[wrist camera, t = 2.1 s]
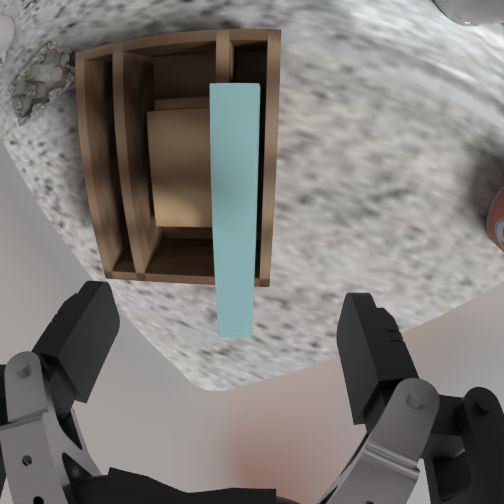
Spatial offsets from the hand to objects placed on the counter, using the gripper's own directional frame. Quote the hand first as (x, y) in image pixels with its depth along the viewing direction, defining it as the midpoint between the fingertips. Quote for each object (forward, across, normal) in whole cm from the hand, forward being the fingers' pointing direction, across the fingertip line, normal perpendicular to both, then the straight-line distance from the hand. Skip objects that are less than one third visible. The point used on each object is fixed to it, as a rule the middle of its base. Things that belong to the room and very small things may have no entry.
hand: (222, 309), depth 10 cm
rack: (+27, +6, 0) cm, 28 cm away
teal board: (+25, 0, 0) cm, 25 cm away
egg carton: (+27, +26, -11) cm, 40 cm away
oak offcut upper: (+23, +7, +1) cm, 24 cm away
